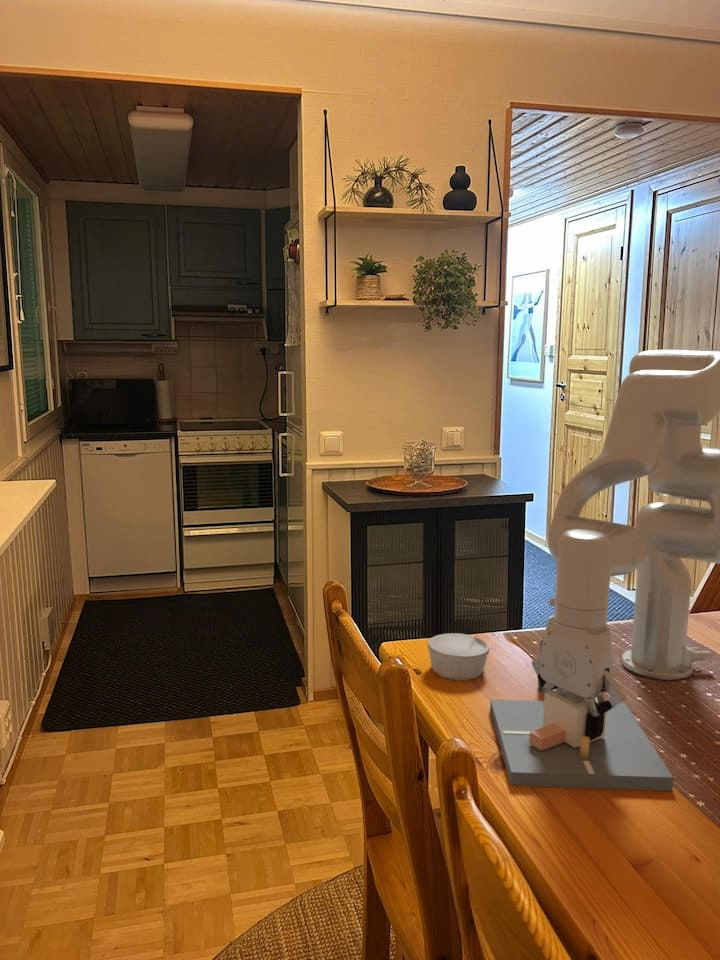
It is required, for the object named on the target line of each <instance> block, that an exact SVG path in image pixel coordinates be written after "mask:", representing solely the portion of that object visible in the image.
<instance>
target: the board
mask: <svg viewBox="0 0 720 960" xmlns="http://www.w3.org/2000/svg"><path fill="white" fill-rule="evenodd" d="M565 698H567V699H569V700H571V701H573V702H575V703H580V702H583V701H586V699H585V698H582V697H580V696H577V695H575V694H573V693H570V692H568V691H566V695H565ZM489 705H490V707H489V708H490V709H489V712H490V715H491V719H492V722H493V727H494V730H495V733H496V737H497V740H498V744H499V747H500V748H501V749H500V751H501V755H502V759H503V762H505V763H504V766H505V765H506V767H505V769H507V770H506V774H507V773H508V774H507V777H508V776H509V778H508V780H510V781H509V785H510V784H511V785H526V786H525V787H541V786H547V787H549V788H578V789H579V788H580V789H607V790H609V789H611V790H632V791H633V790H636V791H639V790H640V791H668V792H671V791H673V787H674V776H673V774H672V773H671V771H670V770H669V768H668V767H667V765H666V763H665V762H664V760H663V759H662V757H661V756H660V754H659V752H658V751H657V750H656V748H655V747H654V745H653V743H651V740H650V739H649V738H648V736H647V735H646V733H645V732H644V730H643V728H642V727H641V726H640V724H639V722H638V721H637V719H636V718H635V716H634V715H633V713H632V712H631V710H630V709H629V707H628V706H627V704H626V703H623V702H621V703H619V704H618V705H616V706H615V707H614V708H612V709H610V710H609V711H608V712H606V726H605V737H602V738H599V739H597V740H594V741H592V742H590V738H589V737H587V736H581V744H580V746H579V747H576V748H574V747H573V746H571V745H569V744H567V743H566V742H563V743H560V744H558V745H555V746H552V747H550V748H547V749H544V750H542V751H541V750H539V749H538V748H536V747H534V746H533V745H531V744H529V738H530V732H531V731H534V730H537V729H540V728H543V715H544V700H519V699H518V700H517V699H516V700H514V699H490V703H489ZM511 785H510V786H511ZM547 787H546V788H547Z"/></svg>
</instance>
